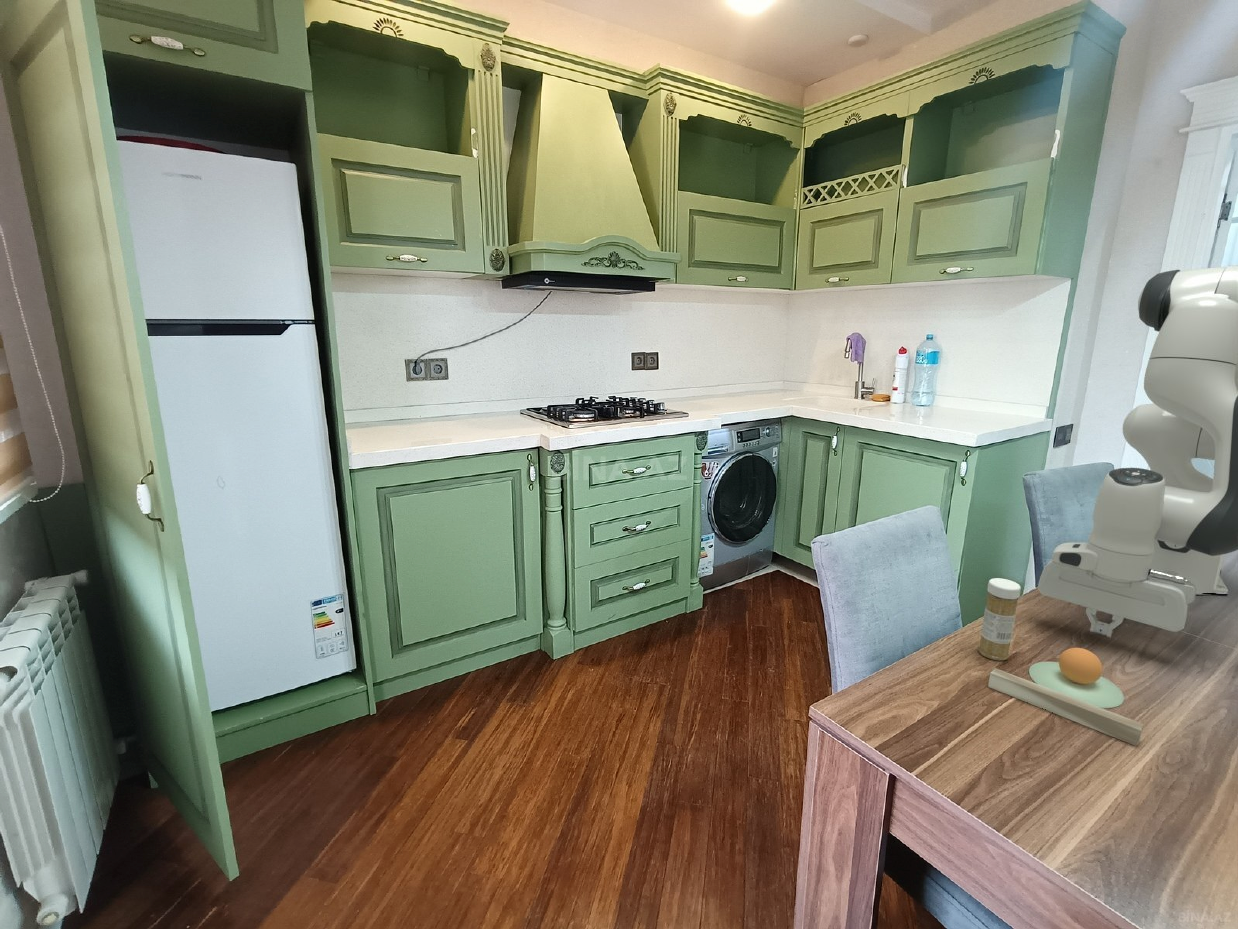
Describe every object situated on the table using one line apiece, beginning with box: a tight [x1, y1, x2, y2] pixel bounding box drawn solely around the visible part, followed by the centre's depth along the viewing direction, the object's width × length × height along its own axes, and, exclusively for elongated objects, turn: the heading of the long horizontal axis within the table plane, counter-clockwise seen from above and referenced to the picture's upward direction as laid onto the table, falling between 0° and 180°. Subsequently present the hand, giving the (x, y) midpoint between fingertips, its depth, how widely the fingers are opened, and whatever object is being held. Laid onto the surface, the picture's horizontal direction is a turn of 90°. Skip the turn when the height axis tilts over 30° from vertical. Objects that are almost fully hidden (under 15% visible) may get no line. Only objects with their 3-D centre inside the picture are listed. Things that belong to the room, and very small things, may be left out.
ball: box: [1058, 647, 1103, 684], centre depth 93 cm, size 6×6×6 cm
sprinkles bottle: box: [977, 577, 1022, 662], centre depth 100 cm, size 5×5×14 cm
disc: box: [1028, 661, 1125, 709], centre depth 93 cm, size 12×12×1 cm
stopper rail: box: [987, 667, 1144, 747], centre depth 86 cm, size 2×18×2 cm, turn 42°
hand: (1100, 633), depth 105 cm, fingers closed
